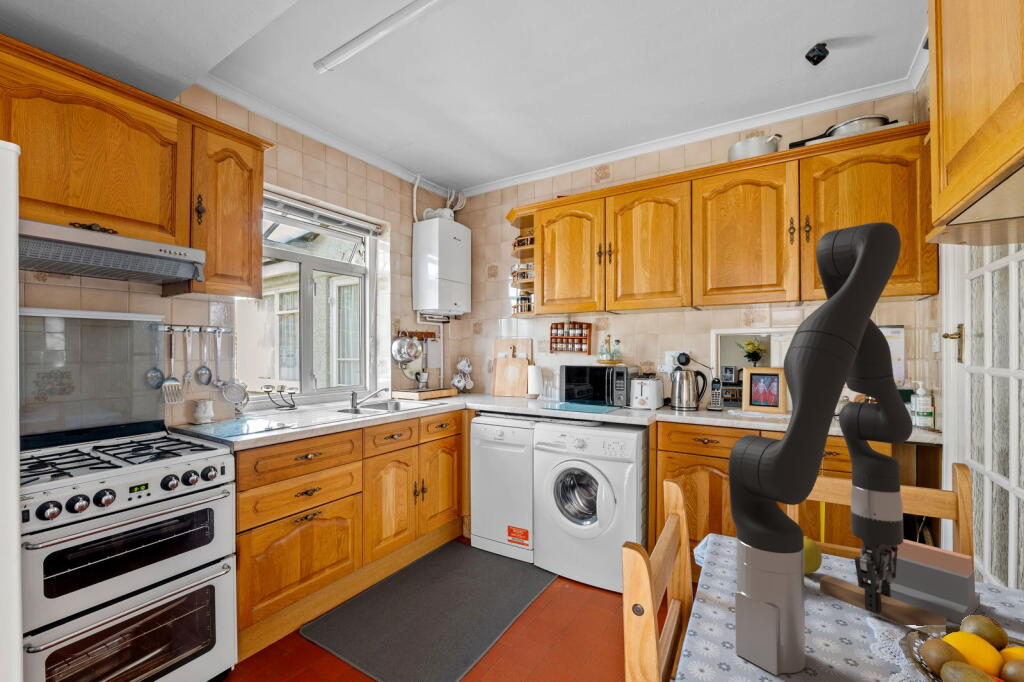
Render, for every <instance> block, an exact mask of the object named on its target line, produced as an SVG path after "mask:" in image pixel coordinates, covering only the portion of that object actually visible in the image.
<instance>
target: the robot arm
mask: <svg viewBox="0 0 1024 682" xmlns="http://www.w3.org/2000/svg"><path fill="white" fill-rule="evenodd" d="M901 241H902V239H901V235H900V231H899V230H898V229H897V227H895V225H893V224H891V223H890V222H889V223H888V222H885V221H884V222H883V221H880V222H879V221H878V222H870V223H864V224H859V225H855V226H850V227H845V228H839V229H838V228H837V229H835V230H834V229H833V230H830V231H828V232H825V233H824V234H823V235H822V236H821V237H820V239H819V240H818V242H817V244H816V251H815V252H816V253H815V255H816V256H815V258H816V265H817V269H818V273H819V277H820V281H821V284H822V286H823V287H822V288H823V290H824V293H825V295H826V296H825V297H826V301H824V302H823V304H821V305H820V306H818V307H817V308H816V309H815V310H814V311H813V312H811V314H810V315H808V316H807V317H806V318H805V319H804V320H803V321H802V322H801V323H800V325H799V326H798V327H797V328H796V330H795V333H794V335H793V336H792V339H791V341H790V344H789V346H788V348H787V351H786V353H785V356H784V359H783V365H782V366H783V372H784V373H783V374H784V377H785V378H784V379H785V381H786V386H787V388H788V392H789V396H790V399H791V405H792V406H791V407H792V408H791V409H792V410H791V416H790V420H789V423H788V426H787V428H786V431H785V433H784V436H783V437H782V438H781V439H777V438H773V437H767V436H760V435H753V434H752V435H751V434H749V435H743V436H741V437H740V438H739V439H738V440H736V441H735V443H734V444H733V446H732V448H731V451H730V453H729V458H728V471H727V472H728V485H729V486H728V487H729V498H730V499H729V500H730V502H729V504H730V513H731V514H730V515H731V518H732V521H733V523H734V525H735V531H736V534H735V535H736V591H735V593H734V596H735V597H734V601H735V603H734V609H735V612H734V613H735V617H734V619H735V654H736V655H738V656H739V657H742V658H743V659H744V660H747V661H749V662H751V663H752V664H755V666H757V667H759V668H762V669H763V670H764V671H767V672H769V673H770V674H772V675H775V676H779V674H794V673H798V672H802V670H804V669H805V667H806V621H805V620H806V613H805V612H806V609H805V607H806V606H805V573H804V532H803V531H804V530H803V529H802V527H801V526H800V525H799V524H798V523H797V522H796V521H795V520H794V519H792V518H791V517H790V516H789V515H787V513H786V512H785V511H783V510H782V508H781V507H780V505H779V503H781V504H784V505H789V506H796V505H799V504H801V503H803V502H804V501H805V500H806V499H807V498H808V497H809V496H810V495H811V494H812V491H813V489H814V488H815V487H814V486H815V484H816V482H817V479H818V476H819V473H820V469H821V466H822V461H823V458H824V454H825V453H824V452H825V448H826V444H827V440H828V438H829V437H828V436H829V432H830V429H831V425H832V422H833V419H834V416H835V413H836V409H837V407H838V404H839V401H840V398H841V395H842V393H843V390H844V388H845V385H846V386H847V388H848V389H849V390H850V391H852V392H855V393H856V394H857V393H858V394H862V395H864V396H868V397H870V398H872V399H874V400H875V401H876V402H865V401H850V402H847V403H846V404H844V405H843V406H842V408H841V409H840V412H839V415H838V423H839V427H840V430H841V434H842V436H843V439H844V441H845V444H846V446H847V447H846V448H847V450H848V454H849V458H850V463H851V490H850V491H851V492H850V526H851V527H850V531H851V534H852V535H853V536H855V537H856V538H858V539H860V540H861V541H862V546H861V547H860V551H859V556H856V555H855V558H854V564H855V570H856V571H855V572H856V577H857V578H856V579H857V584H858V585H857V586H859V587H861V588H864V589H865V608H866V609H867V610H868V611H871V612H873V613H872V614H874V613H876V614H879V613H881V594H882V595H884V596H887V597H890V598H891V590H890V585H889V584H892V583H893V580H892V578H894V579H895V577H896V564H897V551H898V546H897V545H900V544H902V543H903V539H904V517H903V516H904V511H903V509H904V507H903V499H902V495H901V492H902V491H901V467H900V462H899V461H898V460H897V459H896V458H894V457H892V456H889V455H886V454H884V453H881V452H878V451H876V450H875V449H873V448H872V447H871V445H870V444H869V442H877V443H885V444H892V445H893V444H894V445H899V444H903V443H905V442H906V441H907V440H909V438H911V436H912V433H913V430H914V429H913V428H914V425H913V419H912V416H911V414H910V412H909V410H908V408H907V406H906V405H905V402H904V400H903V399H902V397H901V395H900V391H899V390H898V387H897V384H896V381H895V377H894V368H893V360H892V354H891V348H890V345H889V343H888V340H887V337H886V336H885V334H884V333H883V332H882V330H881V329H880V327H878V325H877V324H876V322H874V321H873V320H872V319H871V316H872V314H873V312H874V310H875V307H876V305H877V304H878V302H879V299H880V298H881V295H882V294H883V292H884V290H885V288H886V286H887V285H888V282H889V281H890V279H891V276H892V275H893V273H894V271H895V269H896V266H897V264H898V260H899V259H900V253H901V249H902V248H901V247H902V244H901V243H902V242H901ZM868 441H869V442H868ZM869 581H870V582H869ZM868 611H867V612H868ZM871 612H870V613H871ZM876 614H875V615H876Z"/></svg>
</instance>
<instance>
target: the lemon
mask: <svg viewBox="0 0 1024 682" xmlns="http://www.w3.org/2000/svg"><path fill="white" fill-rule="evenodd" d="M803 536H804V535H803ZM822 559H823V558H822V552H821V549H820V547H819V545H818V544H817V542H816V541H815V540H813V539H812V538H809V537H808V535H805V536H804V575H807V576H808V575H810V574H811V573H815V572H817V571H819V570H820V568H821V566H822V562H823V561H822Z"/></svg>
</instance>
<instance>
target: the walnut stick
mask: <svg viewBox="0 0 1024 682" xmlns="http://www.w3.org/2000/svg"><path fill="white" fill-rule="evenodd" d="M819 593H820V594H823V595H825V596H827V597H831V598H833V599H835V600H838V601H841V602H843V603H844V604H845V603H846V604H848V605H851V606H854V607H856V608H859V609H861V610H863V611H866V612H868V613H871V614H874V615H876V616H880V617H882V618H884V619H886V620H889V621H891V622H894V623H897V624H899V625H902V626H904V625H916V626H924V625H947V626H948V619H947V618H946V617H943V616H940V615H938V614H935V613H932V612H929V611H926V610H924V609H921V608H918V607H915V606H912V605H910V604H907V603H904V602H901V601H898V600H896V599H893V598H890V597H887V596H884V595H882V594H881V613H879V614H876V613H873V612H871V611H868V610H867V609H866V608H865V589H864V588H861V587H859V585H856V584H853V583H850V582H849V581H848V582H847V581H845V580H842V579H839V578H836V577H834V576H831V575H828V574H826V575H825V576H823V577H820V578H819Z"/></svg>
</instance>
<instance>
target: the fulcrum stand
mask: <svg viewBox="0 0 1024 682" xmlns="http://www.w3.org/2000/svg"><path fill="white" fill-rule="evenodd" d="M897 546H898V551H897V564H896V577H895V579H894V578H892V580H893V583H892V584H889V585H890V590H891V598H893V599H896V600H898V601H901V602H904V603H907V604H910V605H912V606H915V607H918V608H921V609H924V610H926V611H929V612H932V613H935V614H938V615H940V616H943V617H946V618H947V621H948V620H949V621H951V622H954V623H957V624H960V625H962V624H961V622H962V620H963V619H964V618H965V617H967V616H969V615H971V616H972V615H973V614H974V613H975V611H976V610H977V609H978V608H979V607H980V606H981V593H979V592H976V584H975V583H976V580H975V579H976V578H975V576H976V575H975V574H976V573H975V570H973V556H972V555H971V556H970V555H967V554H963V553H960V552H955V551H952V550H948V549H943V548H940V547H936V546H932V545H929V544H928V545H927V544H924V543H920V542H916V541H912V540H909V539H904V538H903V543H902V544H900V545H897ZM973 612H974V613H973Z"/></svg>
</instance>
